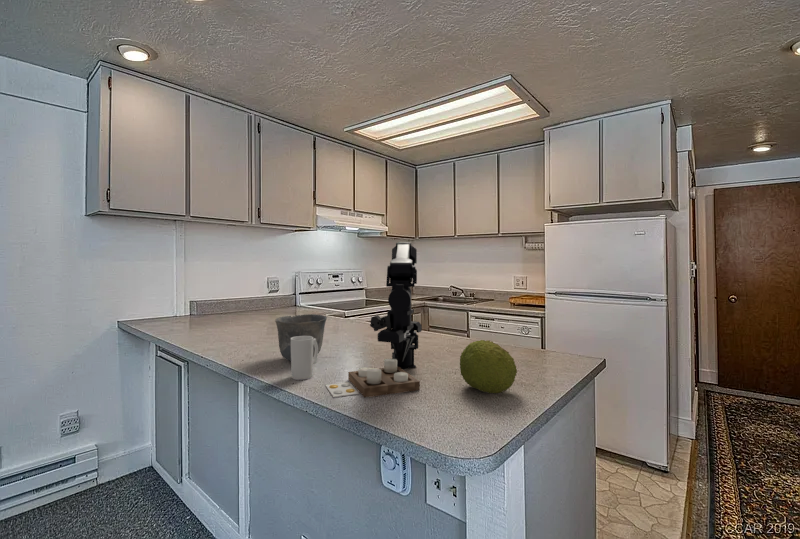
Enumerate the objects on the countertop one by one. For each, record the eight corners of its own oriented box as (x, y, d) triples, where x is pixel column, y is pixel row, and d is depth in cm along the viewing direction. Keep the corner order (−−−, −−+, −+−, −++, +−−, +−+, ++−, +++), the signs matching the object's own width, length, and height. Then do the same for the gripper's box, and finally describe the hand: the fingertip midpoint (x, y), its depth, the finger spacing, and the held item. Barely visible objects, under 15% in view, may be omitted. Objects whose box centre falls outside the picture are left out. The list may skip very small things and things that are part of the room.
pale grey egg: (394, 368, 121) (394, 358, 121) (399, 371, 117) (399, 361, 117) (382, 369, 120) (382, 359, 119) (386, 373, 116) (386, 362, 116)
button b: (404, 382, 114) (404, 371, 114) (410, 386, 110) (410, 375, 110) (391, 384, 112) (391, 372, 112) (396, 388, 109) (397, 377, 108)
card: (349, 383, 115) (349, 381, 115) (359, 394, 105) (359, 392, 105) (325, 386, 112) (325, 384, 112) (333, 397, 103) (333, 395, 103)
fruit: (526, 388, 110) (529, 348, 103) (492, 417, 103) (492, 376, 96) (482, 359, 122) (482, 320, 114) (449, 383, 115) (446, 344, 107)
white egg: (369, 377, 118) (369, 367, 118) (373, 381, 114) (373, 370, 114) (356, 379, 117) (356, 368, 116) (360, 383, 113) (360, 372, 113)
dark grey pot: (289, 352, 151) (288, 313, 150) (333, 354, 148) (333, 314, 148) (267, 365, 133) (266, 321, 132) (317, 367, 131) (317, 322, 130)
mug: (301, 381, 116) (301, 341, 115) (286, 377, 119) (285, 338, 119) (325, 373, 124) (325, 335, 124) (310, 369, 128) (310, 333, 127)
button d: (378, 378, 111) (378, 367, 111) (383, 383, 107) (383, 371, 107) (364, 380, 109) (364, 369, 109) (369, 384, 105) (369, 373, 105)
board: (397, 373, 124) (397, 366, 124) (419, 389, 109) (419, 381, 109) (348, 379, 118) (348, 371, 118) (364, 397, 103) (364, 388, 103)
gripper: (388, 301, 122) (388, 351, 122) (359, 308, 105) (359, 367, 105) (422, 303, 118) (422, 355, 118) (398, 311, 100) (398, 371, 101)
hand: (400, 361), depth 111 cm, fingers closed
